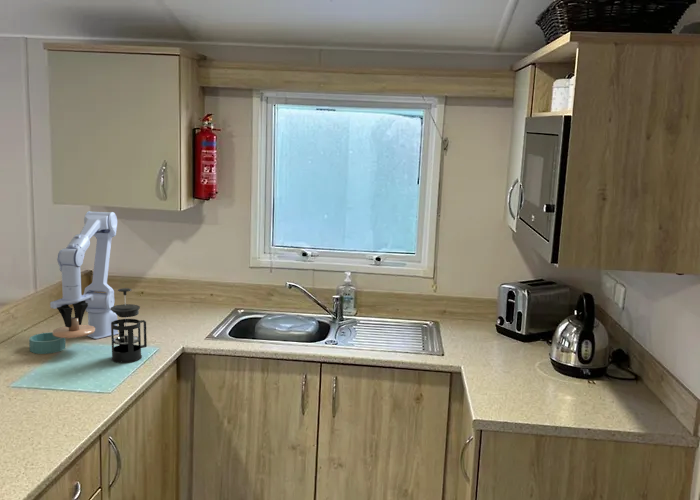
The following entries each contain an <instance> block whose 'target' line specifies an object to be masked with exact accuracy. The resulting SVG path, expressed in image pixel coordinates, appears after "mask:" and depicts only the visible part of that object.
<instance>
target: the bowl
mask: <svg viewBox="0 0 700 500" xmlns="http://www.w3.org/2000/svg"><path fill="white" fill-rule="evenodd" d="M28 342H29V352H30V353H33V354H37V355H38V354H39V355H41V354H42V355H45V354H54V353H59V352H61V351H64V350H65V349H66V338H59V337H55V336H53V331H52V332H49V331H48V332H42V333H36V334H33V335H32V336H29V339H28Z"/></svg>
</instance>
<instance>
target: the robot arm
mask: <svg viewBox="0 0 700 500" xmlns="http://www.w3.org/2000/svg"><path fill="white" fill-rule="evenodd" d="M117 229H118V217H117V214H116V213H115V212H113V211H110V212H109V211H108V212H107V211H91V210H89V211H87V212H86V213H85V214H84V218H83V227H82V229H81V230H80V233H78V234H75V235H73V237H72V239H71V240H70V241H69V243H68V244H67V245H66V246H65V247H64V248H62V249H60V250H59V251H58V253H57V258H56V260H57V264H58V267H59V271H60V273H61V285H62V286H61V288H62V289H61V290H62V298H59V299H56V300H52V301H50V302H49V305H50V309H54V310H55V309H56V310H58V312H59V313H60V315H61V317H62V320H63V323H64V326H65V327H71V317H72V314H73V311H74V317H78V318H79V325H82V323H83V318H84V315H85V312H86V313H87V322H88V323H87V325H90V326H93V327H95V332H94V333H92V334H90V335H87V336H86V337H88V338H91V339H94V340H98V339H103V338H107V337H111V322H113V321H115V320H118V315H117V314H116V313H113V312H112V311H111V307H113V306H115V290H114V289H113V287H112V286H110V285H109V284H108V279H109V278H108V277H109V276H108V275H109V268H110V259H111V258H110V257H111V247H112V241H113V240H112V239H113V238H115V237H116V236H117V232H118V231H117ZM92 237H95V238H96V246H95V254H94V264H93V272H92V282H91V283H90V284H89V285H87V286H86V287H84V292H83V294H82V275H81V273H82V272H81V266H82V265H83V263H84V258H85V255H86V254H85V253H86V252H87V250H88V249H89V247H90V245H91V241H90V240H91V238H92ZM71 305H72V307H70V306H71ZM115 326H119V324H116V325H115ZM113 332H114V336H115V335H119V330H114V329H113Z"/></svg>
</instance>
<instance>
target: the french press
mask: <svg viewBox="0 0 700 500" xmlns="http://www.w3.org/2000/svg"><path fill="white" fill-rule="evenodd" d="M131 291H132V288H129V287H122V288H119V289H118V290H117V292H120V293H121V292H122V293H123V298H124V304H123V303H122V304H116V305H114V306H113V307H111V311H112V312H113V313H116V314H117V317H120V319H117V320H115V321H113V322H111V336H110V337H111V357H110V358H111V361H112V362H114V363H118V364H127V363H129V364H130V363H134V362H139V360H142V357H143V355H142V349H144V348H147V341H148V340H147V321H146V320H144V319H143V320H142V319H141V320H139V319H137V318H131V317H136V316H138V315H139V311H140V309H141V306H140V305H137V304H132V303H131V304H129V303H128V304H127V301H126V298H127V297H126V296H127V293H128V292H131ZM129 323H130V324H131V325H127V324H129ZM141 323H143V345H142V344H141V341H142V340H141V338H142V337H141ZM116 324H117V325H118V326H115V325H116ZM132 324H133V325H132ZM113 329H114V330H118V332H119V334H118V336H115V335H114V332H113ZM136 329H137V335H134V330H136ZM136 343H138V344H136ZM115 345H116V346H115Z"/></svg>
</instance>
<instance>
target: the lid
mask: <svg viewBox="0 0 700 500" xmlns="http://www.w3.org/2000/svg"><path fill="white" fill-rule="evenodd" d="M52 332H53V336H55V337H59V338H65V339H71V338H72V339H74V338H80V337H82V338H83V337H88V336H87V335H90V334H92V333H94V332H95V327H93V326H90V325H88V324H81V325H79V318H78V317H75V316H71V327H65V325H64V326H61V327H58V328H55V329H54V330H52Z"/></svg>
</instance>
